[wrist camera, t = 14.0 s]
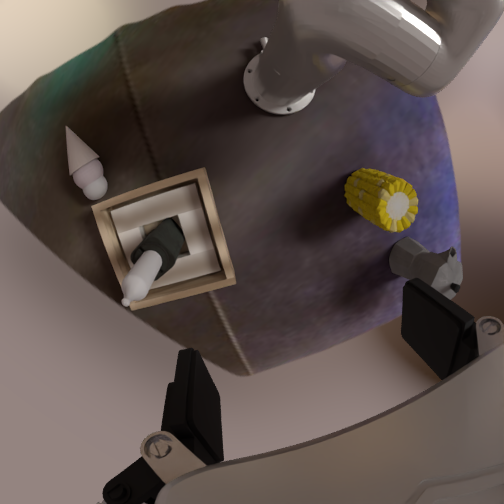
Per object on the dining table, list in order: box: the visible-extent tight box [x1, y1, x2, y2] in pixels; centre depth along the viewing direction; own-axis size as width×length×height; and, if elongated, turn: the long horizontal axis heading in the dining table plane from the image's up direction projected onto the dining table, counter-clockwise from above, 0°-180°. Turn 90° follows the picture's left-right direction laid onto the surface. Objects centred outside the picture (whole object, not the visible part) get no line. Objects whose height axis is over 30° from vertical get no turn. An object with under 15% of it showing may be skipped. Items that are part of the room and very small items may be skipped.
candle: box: [121, 218, 185, 306], centre depth 35 cm, size 5×5×25 cm
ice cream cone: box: [66, 126, 107, 200], centre depth 38 cm, size 6×6×15 cm
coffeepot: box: [389, 237, 463, 300], centre depth 46 cm, size 15×9×18 cm, turn 3°
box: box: [91, 167, 236, 310], centre depth 44 cm, size 19×19×6 cm
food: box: [344, 168, 418, 233], centre depth 43 cm, size 14×11×9 cm
